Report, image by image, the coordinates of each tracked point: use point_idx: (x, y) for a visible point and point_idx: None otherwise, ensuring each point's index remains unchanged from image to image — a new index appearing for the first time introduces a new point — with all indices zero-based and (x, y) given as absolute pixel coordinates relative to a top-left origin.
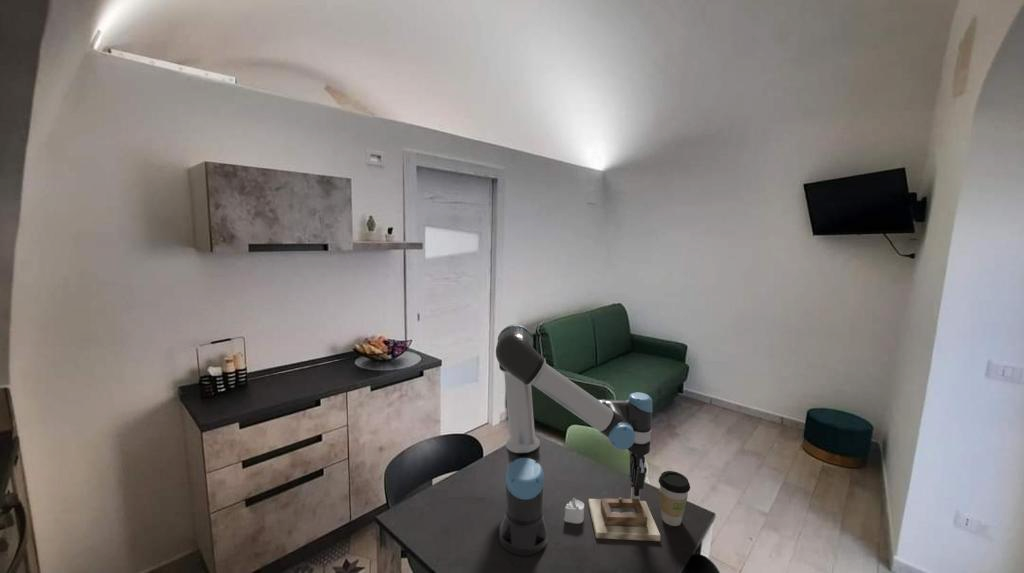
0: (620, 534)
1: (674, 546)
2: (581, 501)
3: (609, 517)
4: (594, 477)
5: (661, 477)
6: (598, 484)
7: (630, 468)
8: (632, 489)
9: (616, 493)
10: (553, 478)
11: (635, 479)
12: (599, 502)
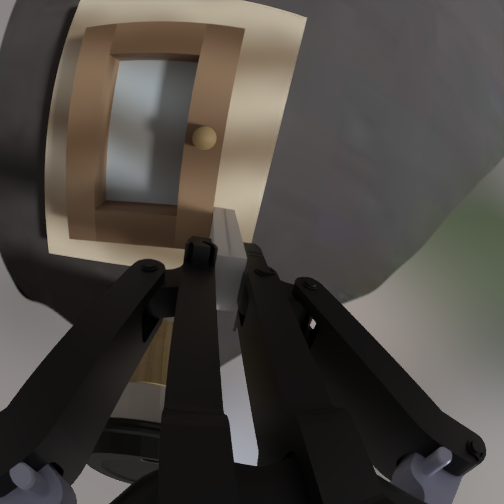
0: (55, 91)
1: (48, 276)
2: None
3: (84, 38)
4: (434, 144)
5: (151, 457)
6: (402, 135)
7: (341, 328)
8: (213, 241)
9: (340, 181)
10: (440, 9)
11: (175, 313)
12: (270, 50)
